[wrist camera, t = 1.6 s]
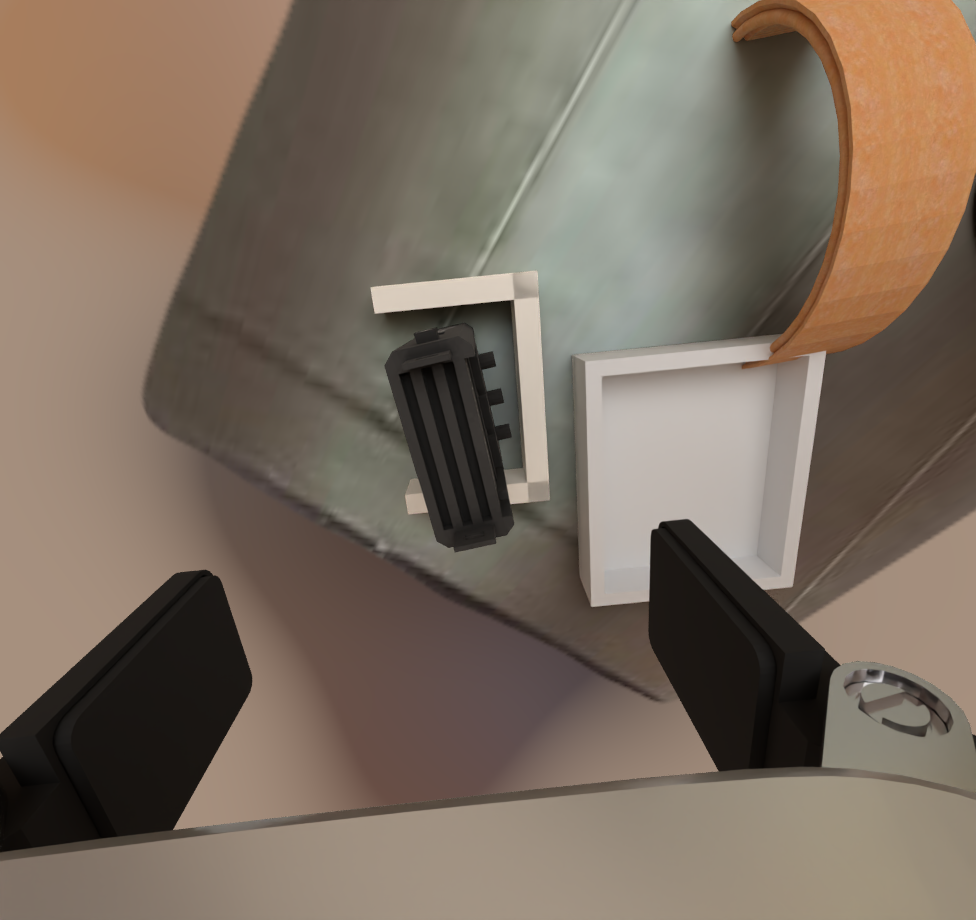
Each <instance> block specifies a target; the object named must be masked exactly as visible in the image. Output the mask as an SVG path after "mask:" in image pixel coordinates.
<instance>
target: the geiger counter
mask: <svg viewBox="0 0 976 920" xmlns="http://www.w3.org/2000/svg"><path fill="white" fill-rule="evenodd" d="M414 336H415V338H414V339H413V340H411V341H409V342H408V343H406V344H404V345H403V346H401V347H399V348H398V349H396V350H394V351H393V352H392V353H391V355H390V357H389V358H388V360H387V362H386V364H385V369H386V372H387V376H388V379H389V383H390V386H391V389H392V393H393V396H394V399H395V403H396V406H397V409H398V413H399V416H400V419H401V423H402V426H403V430H404V433H405V436H406V440H407V443H408V446H409V450H410V453H411V456H412V460H413V463H414V466H415V470H416V473H417V476H418V480H419V483H420V487H421V490H422V493H423V497H424V500H425V503H426V507H427V510H428V513H429V517H430V520H431V523H432V527H433V530H434V534H435V537H436V540H437V542H439V543H441V544H443V545H445V546H446V547H448V548H450V547H454V551H455V552H459V551H464V550H468V549H473V548H478V547H482V546H487V545H491V544H496V537H501V536H505V535H507V534H508V532H509V531H510V530H511V528H512V527H513V525H514V521H513V516H512V510H511V505H510V500H509V494H508V489H507V484H506V478H505V473H504V468H503V463H502V457H501V452H500V447H499V441H498V440H502V439H506V438H510V437H511V432H510V428H509V424H505V425H500V426H496V427H495V425H494V421H493V417H492V412H491V408H490V406H492V405H496V404H500V403H504V400H503V395H502V391H501V388H500V389H496V390H492V391H486V386H485V382H484V377H483V373H482V370H483V369H487V368H491V367H496V364H495V359H494V354H493V351H492V352H488V353H483V354H479V355H478V351H477V347H476V343H475V338H474V332H473V328H472V327H470V326H469V325H467V324H466V323H461V324H457V325H452V326H448V327H444V328H440V329H437V328H432V329H428V330H424V331H420V332H416V333H414Z"/></svg>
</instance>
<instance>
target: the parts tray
mask: <svg viewBox="0 0 976 920" xmlns="http://www.w3.org/2000/svg"><path fill="white" fill-rule="evenodd" d="M781 335H782V334H775V335H765V336H755V337H745V338H735V339H725V340H715V341H705V342H695V343H685V344H675V345H665V346H655V347H645V348H635V349H625V350H615V351H605V352H595V353H585V354H575V355H572V371H573V401H574V430H575V459H576V488H577V518H578V547H579V576H580V579H581V582H582V584H583V587H584V589H585V592H586V594H587V597H588V599H589V602H590V605H591V607H596V606H606V605H616V604H626V603H636V602H646V601H649V584H650V539H651V531H652V530H653V529H658V526H659V523H660V522H662V521H671V520H681V519H689V520H691V521H692V522H693V523H694V524H695V525H696V526H697V527H698V528H699V529H700V530H701V531H702V532H703V533H704V534H705V535H706V536H708V537H709V538H710V539H711V540H712V541H713V542H714V543H715V544H716V545H717V546H718V547H719V548H720V549H721V550H722V551H723V552H724V553H725V554H726V555H727V556H728V557H729V558H730V559H731V560H733V561H734V562H735V563H736V564H737V565H738V566H739V567H740V568H741V569H742V570H743V571H744V572H745V573H746V574H747V575H748V576H749V577H750V578H751V579H752V580H753V581H754V582H755V583H757V584H758V585H759V586H760V587H761V588H762V589H763V590H766V589H776V588H786V587H793V581H794V574H795V567H796V560H797V553H798V546H799V539H800V532H801V525H802V518H803V511H804V504H805V497H806V490H807V483H808V476H809V469H810V462H811V455H812V448H813V441H814V434H815V427H816V420H817V413H818V406H819V399H820V392H821V385H822V378H823V371H824V364H825V357H826V351H821V352H816V353H811V354H805V355H800V356H803V357H801V358H798V359H796V360H792V361H786V362H781V363H776V364H770V365H765V366H760V367H754V368H747V369H742V366H743V365H744V364H745V363H746V362H750V361H760V360H769V357H770V356H772V355H773V354H774V353H772V352H771V351H770V345H771V344H772V343H773V342H774V341H775V340H776V339H778V338H779V337H780V336H781ZM800 356H795V357H800ZM789 358H790V357H789Z"/></svg>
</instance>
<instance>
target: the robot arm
mask: <svg viewBox="0 0 976 920" xmlns="http://www.w3.org/2000/svg"><path fill="white" fill-rule="evenodd" d="M648 631H649V639H650V643H651V646H652V649H653V651H654V653H655V654H656V656H657V658H658V660H659V662H660V664H661V665H662V667H663V669H664V671H665V673H666V675H667V677H668V678H669V680H670V682H671V684H672V686H673V688H674V689H675V691H676V693H677V695H678V697H679V699H680V701H681V702H682V704H683V706H684V708H685V710H686V712H687V713H688V715H689V717H690V719H691V721H692V723H693V725H694V726H695V728H696V730H697V732H698V733H699V736H700V737H701V739H702V741H703V743H704V745H705V747H706V749H707V750H708V752H709V754H710V756H711V758H712V760H713V761H714V763H715V765H716V767H717V769H718V771H719V772H708V773H696V774H685V775H675V776H662V777H651V778H640V779H630V780H621V781H611V782H601V783H592V784H582V785H573V786H563V787H555V788H544V789H535V790H525V791H516V792H506V793H497V794H487V795H478V796H470V797H461V798H451V799H442V800H433V801H424V802H415V803H406V804H397V805H389V806H379V807H370V808H362V809H352V810H343V811H335V812H325V813H317V814H309V815H299V816H290V817H282V818H272V819H264V820H256V821H248V822H239V823H230V824H221V825H213V826H205V827H196V828H188V829H179V830H173V829H174V827H175V825H176V823H177V821H178V820H179V818H180V816H181V814H182V813H183V811H184V809H185V807H186V805H187V804H188V802H189V800H190V798H191V796H192V795H193V793H194V791H195V789H196V788H197V786H198V784H199V782H200V780H201V779H202V777H203V775H204V773H205V772H206V770H207V768H208V766H209V764H210V763H211V761H212V759H213V757H214V755H215V754H216V752H217V750H218V748H219V746H220V745H221V743H222V741H223V739H224V738H225V736H226V734H227V732H228V730H229V729H230V727H231V725H232V723H233V722H234V720H235V718H236V716H237V715H238V713H239V711H240V709H241V707H242V706H243V704H244V702H245V700H246V698H247V697H248V695H249V693H250V691H251V687H252V674H251V671H250V668H249V665H248V662H247V658H246V655H245V653H244V649H243V646H242V644H241V640H240V637H239V634H238V631H237V628H236V625H235V622H234V619H233V616H232V613H231V610H230V607H229V604H228V601H227V597H226V594H225V591H224V588H223V585H222V582H221V580H220V579H219V578H218V577H217V576H213V575H212V573H210V571H207V570H199V571H189V572H180V573H176V574H174V575H173V576H172V577H171V578H170V579H169V580H167V581H166V582H165V583H164V584H163V585H162V586H161V587H160V588H159V589H158V590H156V591H155V592H154V593H153V594H152V595H151V596H150V597H149V598H148V599H147V600H146V601H145V602H143V603H142V604H141V605H140V606H139V607H138V608H137V609H136V610H135V611H134V612H132V613H131V614H130V615H129V616H128V617H127V618H126V619H125V620H124V621H123V622H122V623H120V624H119V626H117V627H116V628H115V629H114V630H113V631H112V632H111V633H110V634H108V635H107V636H106V637H105V638H104V639H103V640H102V641H101V642H100V643H99V644H98V645H96V647H94V648H93V649H92V650H91V651H90V652H89V653H88V654H87V655H86V656H85V657H83V658H82V659H81V660H80V661H79V662H78V663H77V664H76V665H75V666H74V667H72V668H71V669H70V670H69V671H68V672H67V673H66V674H65V675H64V676H63V677H62V678H61V679H60V680H58V681H57V682H56V683H55V684H54V685H53V686H52V687H51V688H50V689H49V690H47V691H46V692H45V693H44V694H43V695H42V696H41V697H40V698H39V699H38V700H37V701H35V702H34V703H33V704H32V705H31V706H30V707H29V708H28V709H27V710H26V711H25V712H23V713H22V714H21V715H20V716H19V717H18V718H17V719H16V720H15V721H14V722H13V723H11V724H10V725H9V726H8V727H7V728H6V729H5V730H4V731H3V732H2V733H1V734H0V752H1V753H2V755H3V757H2V758H1V759H0V920H976V736H975V735H973V734H972V732H971V727H970V724H969V722H968V720H967V718H966V716H965V714H964V712H963V710H962V709H961V708H960V707H959V706H958V705H957V704H956V703H955V702H954V701H953V700H952V698H950V697H949V696H948V695H946V694H945V693H944V692H942V691H941V690H940V689H938V688H937V687H936V686H934V685H933V684H931V683H929V682H927V681H925V680H923V679H921V678H920V677H918V676H916V675H914V674H912V673H909V672H906V671H904V670H901V669H898V668H895V667H893V666H888V665H884V664H879V663H875V662H860V661H856V662H851V663H845V664H842V665H840V664H839V663H838V662H836V661H835V660H834V659H833V658H832V657H831V656H830V655H829V654H828V653H827V652H826V651H825V649H824V648H823V647H822V646H821V645H820V644H819V643H818V642H817V641H816V640H815V639H814V638H813V637H812V636H811V635H810V634H809V633H808V632H807V631H806V630H804V629H803V628H802V627H801V626H800V625H799V624H798V623H797V622H796V621H795V620H794V619H793V618H792V617H791V616H790V615H789V614H788V613H787V612H786V611H785V610H784V609H783V608H782V607H781V606H779V605H778V604H777V603H776V602H775V601H774V600H773V599H772V598H771V597H770V596H769V595H768V594H767V593H766V592H765V591H764V590H763V589H762V588H761V587H760V586H759V585H758V584H757V583H755V582H754V581H753V580H752V579H751V578H750V577H749V576H748V575H747V574H746V573H745V572H744V571H743V570H742V569H741V568H740V567H739V566H738V565H737V564H736V563H735V562H734V561H733V560H731V559H730V558H729V557H728V556H727V555H726V554H725V553H724V552H723V551H722V550H721V549H720V548H719V547H718V546H717V545H716V544H715V543H714V542H713V541H712V540H711V539H710V538H709V537H708V536H706V535H705V534H704V533H703V532H702V531H701V530H700V529H699V528H698V527H697V526H696V525H695V524H694V523H693V522H692V521H691V520H689V519H681V520H671V521H662V522H660V523H659V526H658V529H653V530H652V531H651V539H650V584H649V629H648Z"/></svg>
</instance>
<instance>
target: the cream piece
mask: <svg viewBox="0 0 976 920" xmlns="http://www.w3.org/2000/svg"><path fill="white" fill-rule="evenodd" d="M370 288H371V294H372V300H373V306H374V312H375V313H385V312H395V311H405V310H415V309H425V308H435V307H445V306H455V305H465V304H475V303H485V302H495V301H505V300H510V302H511V316H512V329H513V343H514V356H515V370H516V383H517V396H518V410H519V423H520V437H521V450H522V464H523V468H517V469H507V470H504V473H505V478H506V484H507V489H508V494H509V500H510V504H517V503H527V502H537V501H547V500H550V492H549V474H548V455H547V437H546V419H545V401H544V383H543V365H542V346H541V328H540V310H539V292H538V274H537V271H528V272H518V273H508V274H498V275H488V276H478V277H468V278H458V279H448V280H438V281H428V282H418V283H408V284H398V285H388V286H378V287H370ZM405 498H406V504H407V510H408V514H417V513H427V512H428V510H427V507H426V503H425V500H424V497H423V493H422V490H421V487H420V483H419V480H418V478H417V479H410V482H409V485H408V488H407V491H406V494H405Z"/></svg>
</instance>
